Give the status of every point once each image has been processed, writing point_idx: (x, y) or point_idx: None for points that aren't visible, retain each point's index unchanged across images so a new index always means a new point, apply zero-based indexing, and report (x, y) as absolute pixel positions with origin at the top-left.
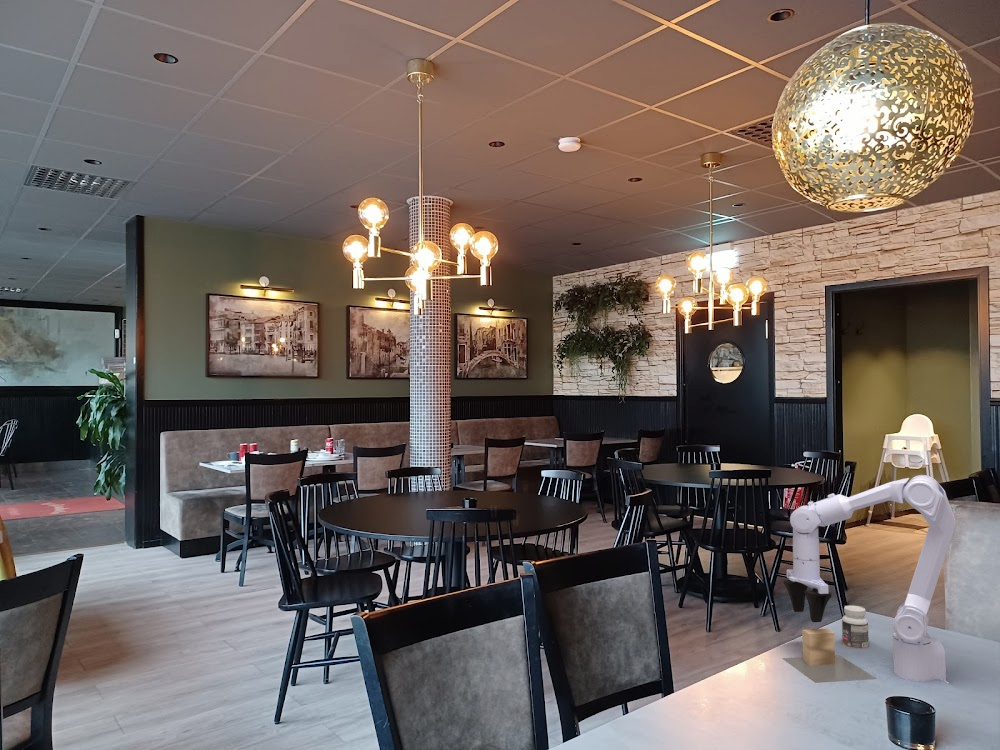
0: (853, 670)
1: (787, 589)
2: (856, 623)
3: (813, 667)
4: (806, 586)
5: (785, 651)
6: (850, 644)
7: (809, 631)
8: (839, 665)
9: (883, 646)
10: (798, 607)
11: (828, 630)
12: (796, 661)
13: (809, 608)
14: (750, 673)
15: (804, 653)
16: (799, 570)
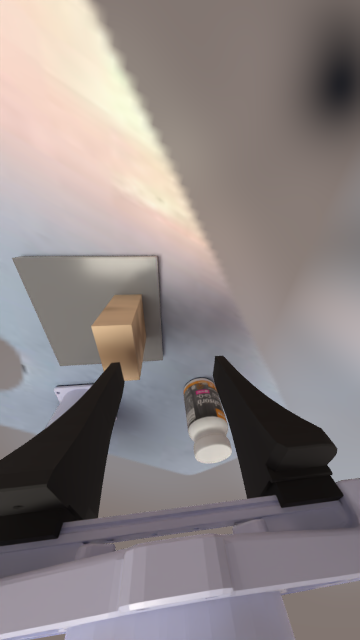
0: (93, 351)
1: (279, 408)
2: (190, 427)
3: (103, 296)
4: (243, 474)
5: (216, 294)
6: (192, 388)
7: (115, 336)
8: None
9: None
10: (218, 374)
11: (124, 377)
12: (137, 279)
13: (101, 393)
14: (96, 127)
15: (132, 300)
16: None
